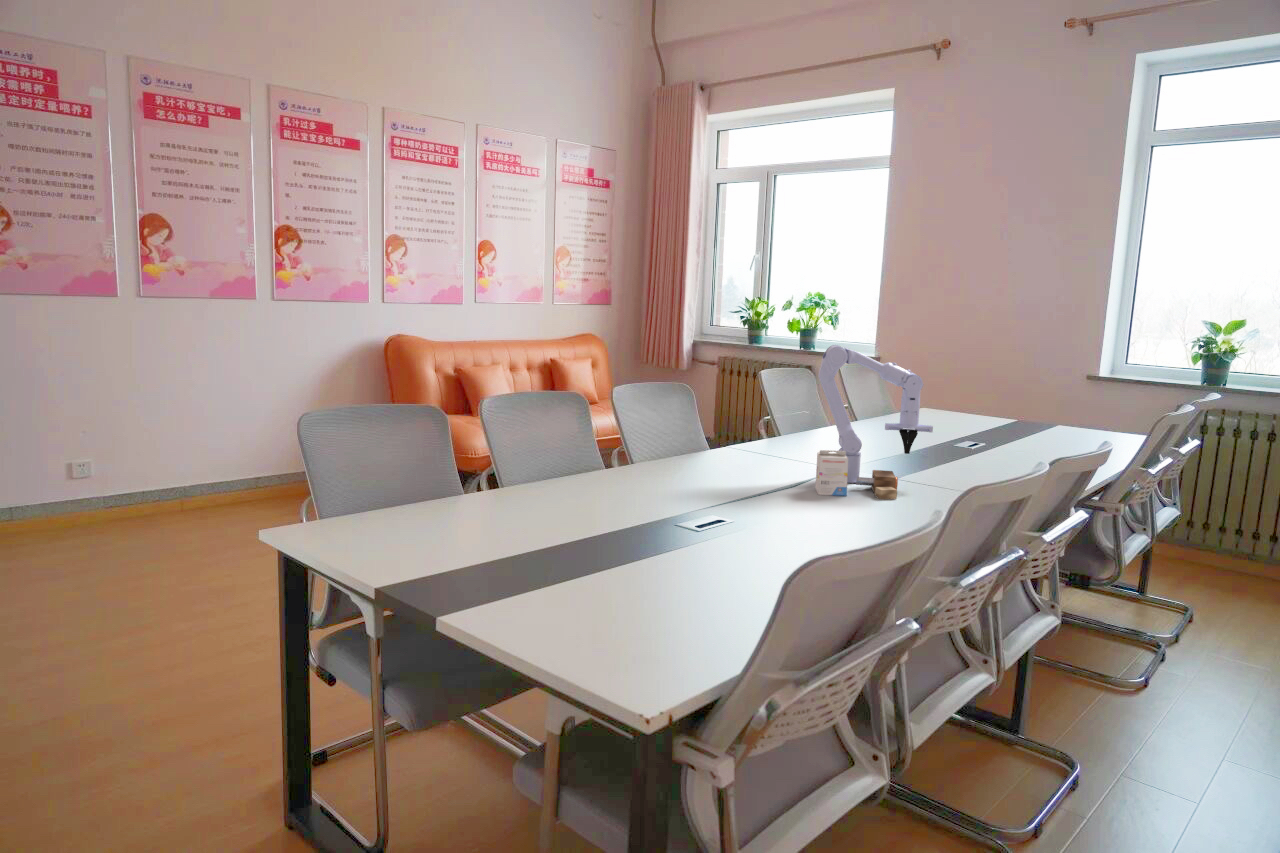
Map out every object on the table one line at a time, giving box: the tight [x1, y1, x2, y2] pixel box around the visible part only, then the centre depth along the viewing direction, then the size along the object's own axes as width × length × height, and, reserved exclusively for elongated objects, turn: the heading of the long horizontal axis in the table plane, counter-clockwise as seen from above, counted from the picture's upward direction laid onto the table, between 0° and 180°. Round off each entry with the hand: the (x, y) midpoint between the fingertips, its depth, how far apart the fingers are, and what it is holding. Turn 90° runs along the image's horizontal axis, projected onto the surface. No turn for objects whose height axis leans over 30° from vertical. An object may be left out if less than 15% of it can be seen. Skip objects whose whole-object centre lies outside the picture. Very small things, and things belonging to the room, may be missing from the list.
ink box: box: [815, 449, 848, 497], centre depth 259 cm, size 9×8×13 cm
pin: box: [855, 476, 899, 491], centre depth 264 cm, size 12×4×4 cm, turn 79°
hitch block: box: [871, 469, 897, 495], centre depth 264 cm, size 6×10×5 cm, turn 169°
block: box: [874, 487, 898, 500], centre depth 255 cm, size 5×4×3 cm
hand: (906, 453), depth 274 cm, fingers closed
